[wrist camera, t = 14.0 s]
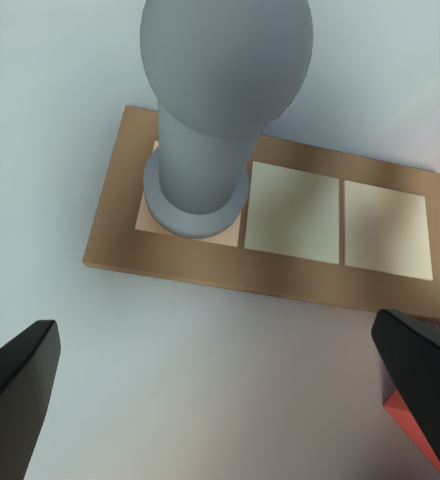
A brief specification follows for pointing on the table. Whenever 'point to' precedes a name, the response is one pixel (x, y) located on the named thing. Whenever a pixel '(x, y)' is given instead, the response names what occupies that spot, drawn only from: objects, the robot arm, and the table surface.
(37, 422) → the robot arm
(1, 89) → the table surface
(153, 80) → the pawn
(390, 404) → the red die
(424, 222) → the game board
